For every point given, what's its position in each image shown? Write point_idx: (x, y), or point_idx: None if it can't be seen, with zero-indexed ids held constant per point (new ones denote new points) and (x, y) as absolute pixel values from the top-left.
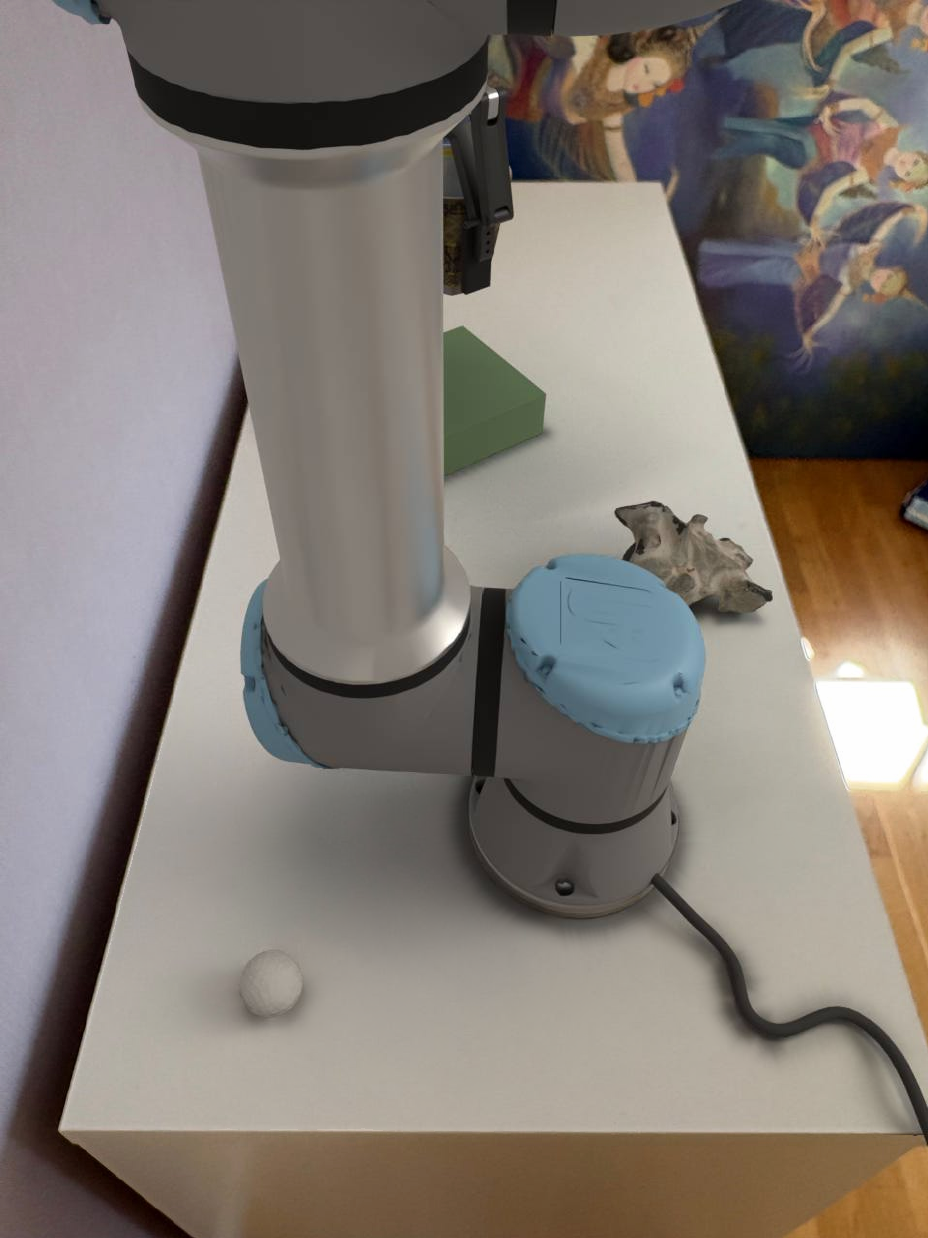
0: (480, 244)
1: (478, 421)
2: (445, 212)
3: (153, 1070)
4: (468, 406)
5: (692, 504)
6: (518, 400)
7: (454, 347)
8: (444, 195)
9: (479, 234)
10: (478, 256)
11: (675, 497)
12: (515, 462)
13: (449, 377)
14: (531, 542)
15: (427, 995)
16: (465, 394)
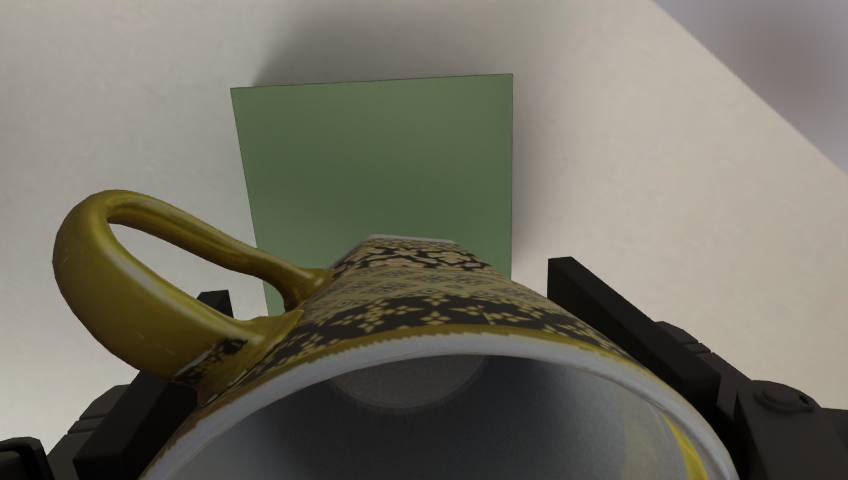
0: (66, 436)
1: (251, 211)
2: (189, 415)
3: None
4: (300, 217)
5: (50, 404)
6: (276, 298)
7: None
8: (565, 466)
9: (51, 467)
10: (108, 396)
11: (73, 392)
12: (240, 241)
13: (390, 229)
14: (51, 167)
15: None
16: (333, 229)
